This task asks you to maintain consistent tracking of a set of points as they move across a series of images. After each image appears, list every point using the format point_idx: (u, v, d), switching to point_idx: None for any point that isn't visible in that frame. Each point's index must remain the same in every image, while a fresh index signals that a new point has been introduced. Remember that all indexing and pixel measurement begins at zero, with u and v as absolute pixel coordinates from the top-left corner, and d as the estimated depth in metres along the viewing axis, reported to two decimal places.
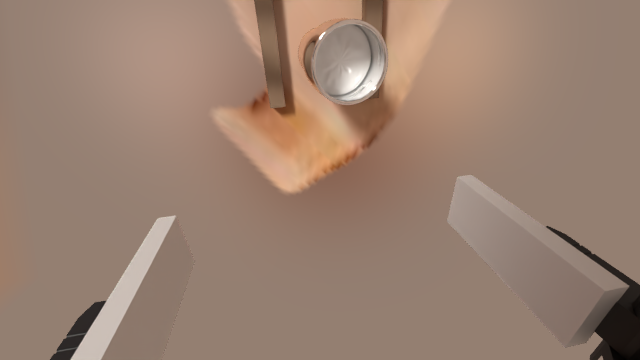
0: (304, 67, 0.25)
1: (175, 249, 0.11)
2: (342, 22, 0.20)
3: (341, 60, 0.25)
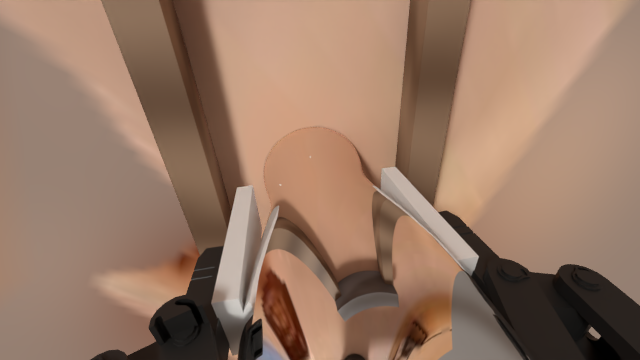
0: None
1: (254, 213, 0.13)
2: None
3: None
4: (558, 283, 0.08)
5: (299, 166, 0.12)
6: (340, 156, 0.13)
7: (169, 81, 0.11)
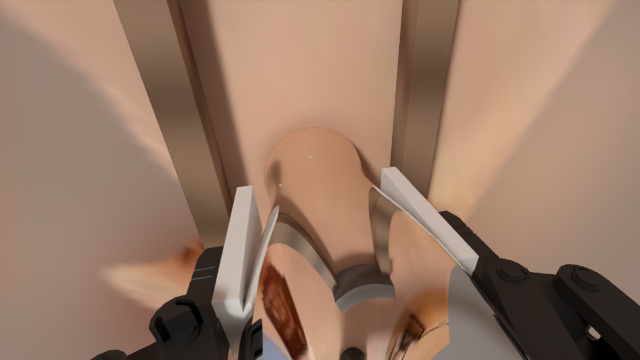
0: None
1: (254, 213, 0.13)
2: None
3: None
4: (558, 283, 0.08)
5: (299, 166, 0.12)
6: (340, 156, 0.13)
7: (177, 83, 0.12)
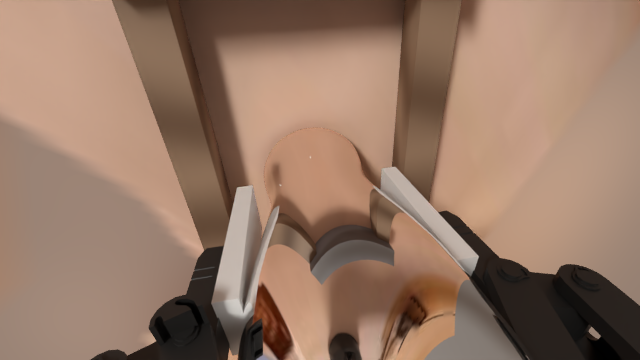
0: None
1: (254, 213, 0.13)
2: None
3: None
4: (558, 283, 0.08)
5: (299, 166, 0.12)
6: (340, 156, 0.13)
7: (217, 214, 0.16)
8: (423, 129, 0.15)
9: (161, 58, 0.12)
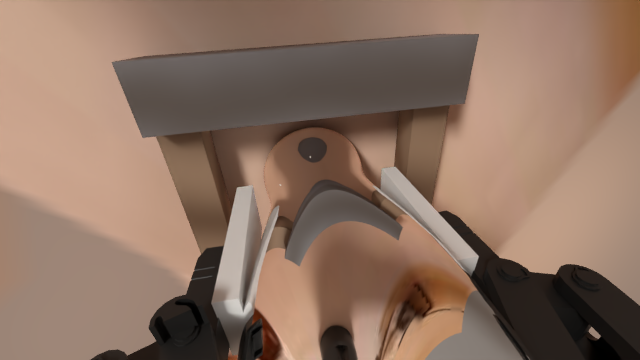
0: None
1: (254, 213, 0.13)
2: None
3: None
4: (558, 283, 0.08)
5: (299, 166, 0.12)
6: (340, 156, 0.13)
7: None
8: None
9: (194, 176, 0.14)
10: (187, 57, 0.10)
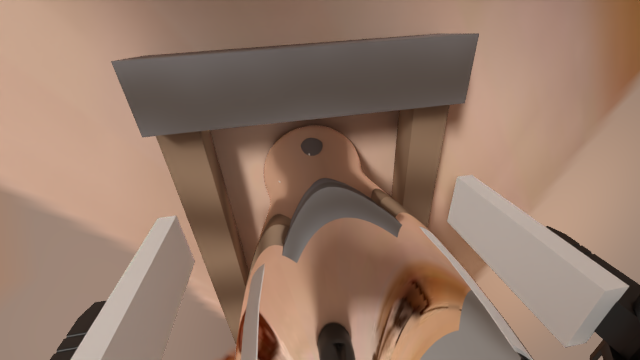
0: None
1: (175, 249, 0.11)
2: None
3: None
4: None
5: (298, 163, 0.12)
6: (339, 153, 0.13)
7: (236, 284, 0.18)
8: (414, 212, 0.18)
9: (194, 175, 0.14)
10: (187, 56, 0.10)
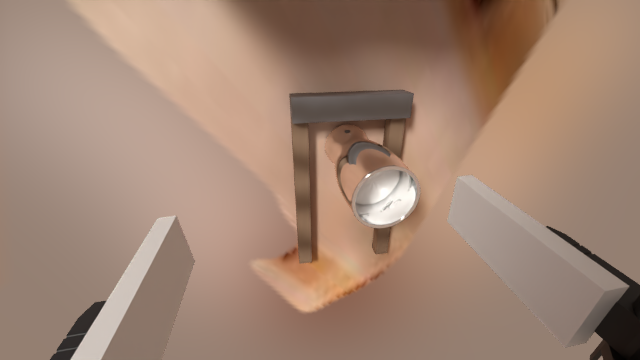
0: (340, 186, 0.27)
1: (175, 249, 0.11)
2: (383, 169, 0.23)
3: (373, 179, 0.28)
4: None
5: (346, 136, 0.33)
6: (361, 134, 0.34)
7: (306, 198, 0.38)
8: None
9: (301, 141, 0.34)
10: (314, 97, 0.31)
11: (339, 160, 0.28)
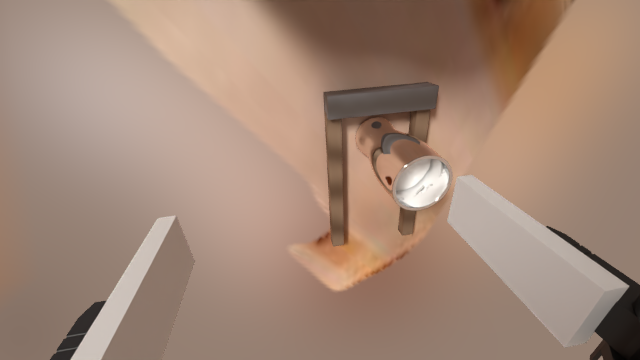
0: (378, 175, 0.30)
1: (175, 249, 0.11)
2: (421, 158, 0.26)
3: (407, 167, 0.31)
4: None
5: (377, 129, 0.36)
6: (390, 126, 0.37)
7: (339, 186, 0.42)
8: None
9: (335, 135, 0.37)
10: (348, 94, 0.34)
11: (375, 151, 0.32)
